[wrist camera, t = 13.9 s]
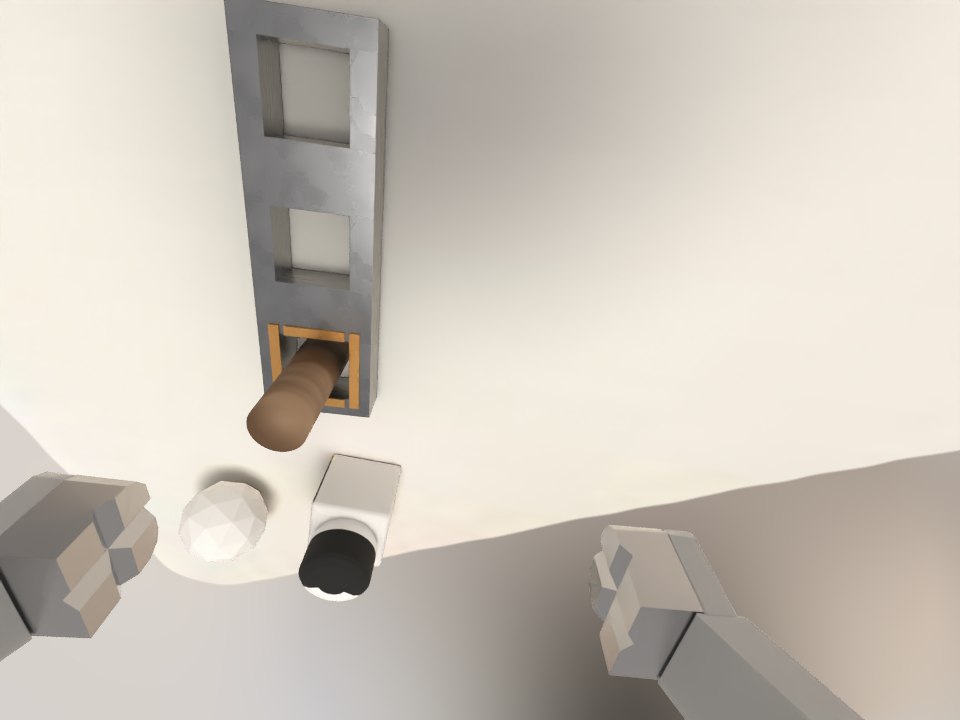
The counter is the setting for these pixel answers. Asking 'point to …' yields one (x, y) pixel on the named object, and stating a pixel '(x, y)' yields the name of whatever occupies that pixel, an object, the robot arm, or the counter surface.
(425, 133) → the counter surface
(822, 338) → the counter surface
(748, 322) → the counter surface
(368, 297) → the rectangular metal frame
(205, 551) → the ball
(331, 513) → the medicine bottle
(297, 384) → the walnut peg
